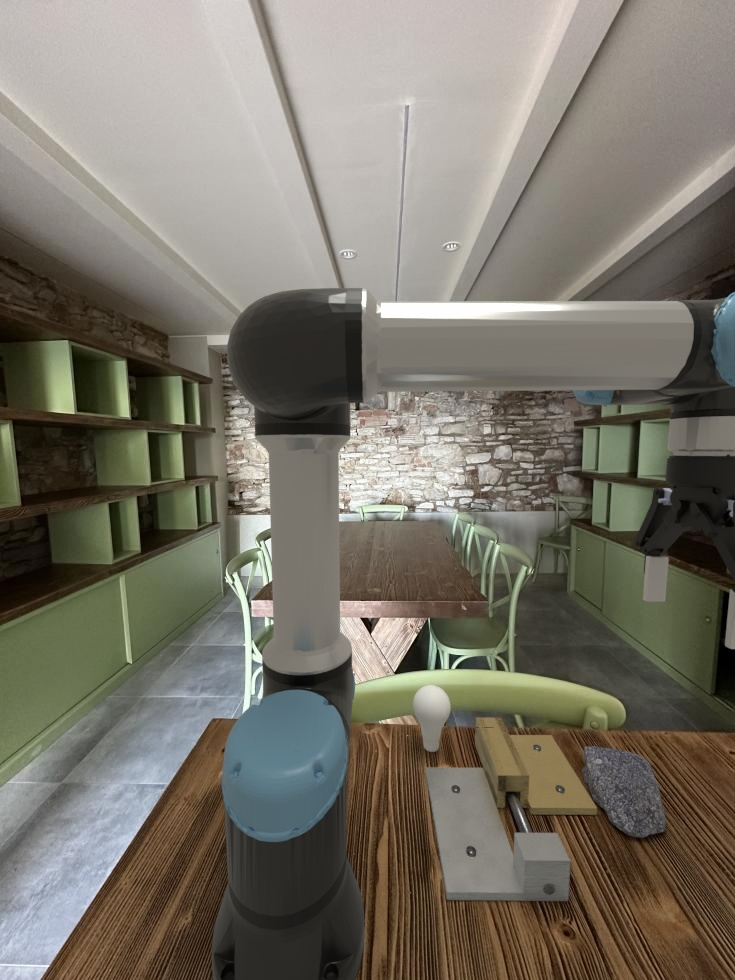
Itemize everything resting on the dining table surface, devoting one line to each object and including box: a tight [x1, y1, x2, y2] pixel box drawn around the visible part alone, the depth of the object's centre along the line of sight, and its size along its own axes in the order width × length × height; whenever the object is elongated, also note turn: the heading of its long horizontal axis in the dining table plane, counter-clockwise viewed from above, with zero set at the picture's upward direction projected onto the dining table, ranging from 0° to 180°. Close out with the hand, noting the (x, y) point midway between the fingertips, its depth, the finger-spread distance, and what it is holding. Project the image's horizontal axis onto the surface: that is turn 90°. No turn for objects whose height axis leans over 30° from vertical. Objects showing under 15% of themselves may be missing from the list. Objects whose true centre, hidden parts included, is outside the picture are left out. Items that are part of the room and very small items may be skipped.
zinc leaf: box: [425, 766, 571, 902], centre depth 56 cm, size 14×24×5 cm, turn 0°
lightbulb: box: [412, 684, 451, 753], centre depth 66 cm, size 6×6×11 cm
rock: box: [582, 745, 667, 839], centre depth 57 cm, size 12×5×10 cm
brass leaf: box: [474, 717, 598, 816], centre depth 62 cm, size 13×14×5 cm
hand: (691, 621), depth 51 cm, fingers open, 13 cm apart
